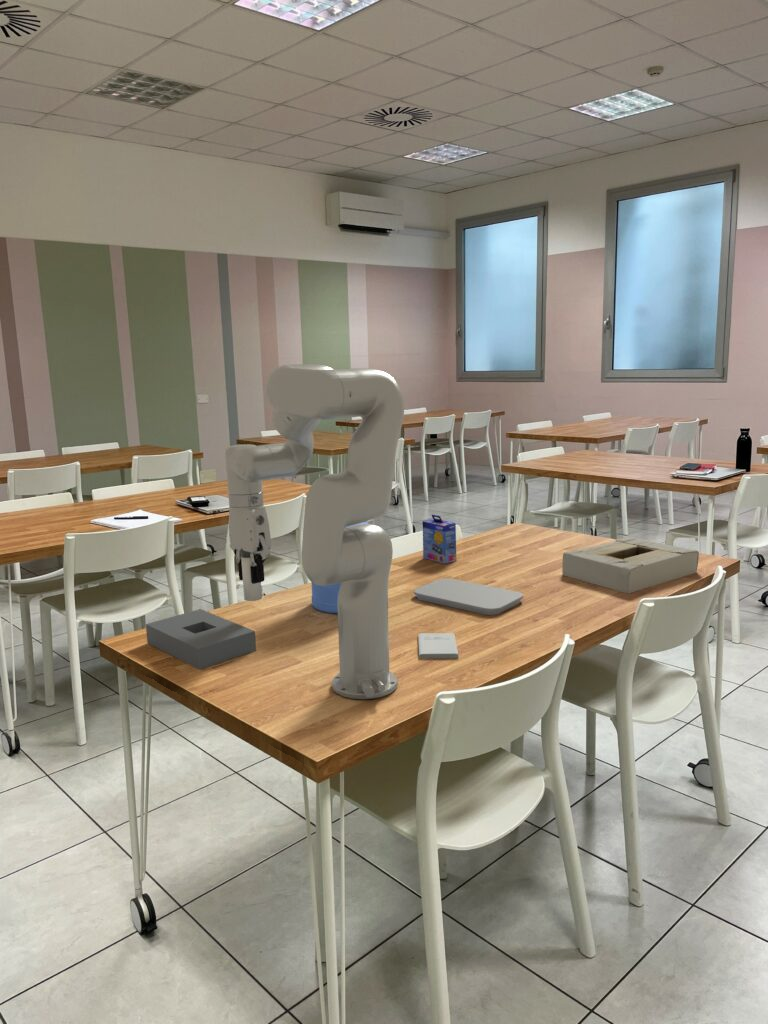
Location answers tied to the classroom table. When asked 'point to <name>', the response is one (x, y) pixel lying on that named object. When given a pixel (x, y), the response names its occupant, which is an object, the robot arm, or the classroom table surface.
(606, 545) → the box
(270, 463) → the robot arm
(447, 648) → the external hard drive
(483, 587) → the tablet
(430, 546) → the ink cartridge box
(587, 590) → the classroom table surface
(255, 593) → the peg
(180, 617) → the socket block
